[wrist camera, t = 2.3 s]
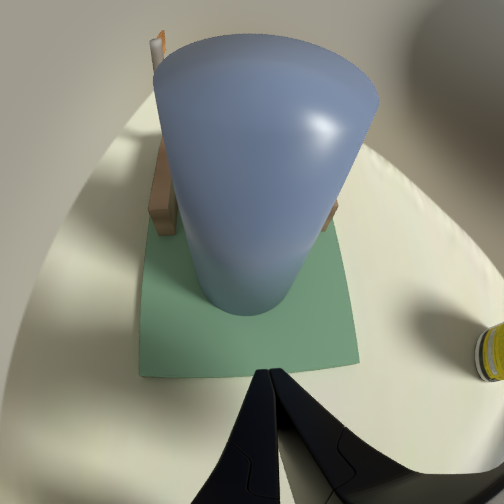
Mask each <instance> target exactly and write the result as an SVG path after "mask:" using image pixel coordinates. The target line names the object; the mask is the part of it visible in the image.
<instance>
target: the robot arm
mask: <svg viewBox="0 0 504 504" xmlns="http://www.w3.org/2000/svg"><path fill="white" fill-rule="evenodd" d="M278 449H279V452H280V455H281V459H282V462H283V465H284V469H285V472H286V475H287V479H288V482H289V485H290V488H291V492H292V495H293V498H294V501H295V504H504V462H503V463H502V464H501V465H499V466H498V467H496V468H495V469H492V470H490V471H486V472H482V473H472V474H424V473H419V472H415V471H413V470H410V469H408V468H406V467H404V466H403V465H401V464H399V463H397V462H396V461H394V460H392V459H391V458H389V457H387V456H386V455H384V454H382V453H381V452H379V451H378V450H376V449H375V448H373V447H372V446H370V445H369V444H367V443H366V442H364V441H363V440H362V439H360V438H359V437H358V436H357V435H355V434H354V433H353V432H352V431H350V430H349V429H348V428H347V427H344V425H343V424H342V423H341V422H340V421H339V420H338V419H337V418H335V417H334V416H333V415H332V414H331V413H330V412H329V411H327V410H326V409H325V408H324V407H323V406H322V405H321V404H320V403H319V402H317V401H316V400H315V399H314V398H313V397H312V396H311V395H310V394H309V393H308V392H307V391H305V390H304V389H303V388H302V387H301V386H300V385H299V384H298V383H297V382H296V381H295V380H294V379H293V378H292V377H291V376H290V375H288V374H287V373H286V372H285V371H284V370H283V369H282V368H270V369H269V370H268V369H257V370H256V371H255V373H254V375H253V378H252V381H251V383H250V386H249V388H248V391H247V394H246V396H245V399H244V401H243V404H242V406H241V409H240V411H239V414H238V417H237V419H236V422H235V424H234V426H233V429H232V431H231V434H230V436H229V439H228V442H227V443H226V446H225V448H224V450H223V452H222V455H221V457H220V459H219V461H218V463H217V465H216V466H215V468H214V470H213V471H212V473H211V475H210V476H209V478H208V479H207V481H206V482H205V484H204V485H203V487H202V488H201V489H200V491H199V492H198V494H197V495H196V497H195V498H194V500H193V501H192V502H191V504H280V484H279V456H278Z"/></svg>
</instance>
